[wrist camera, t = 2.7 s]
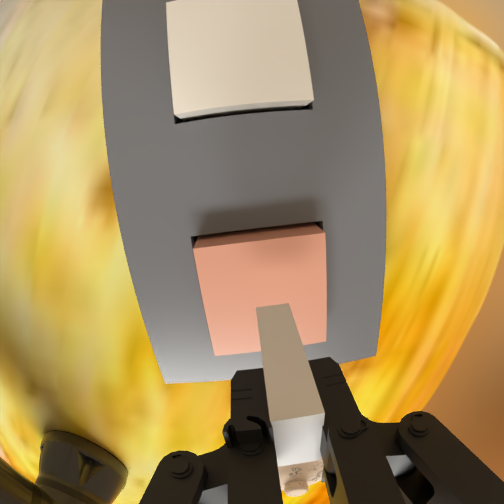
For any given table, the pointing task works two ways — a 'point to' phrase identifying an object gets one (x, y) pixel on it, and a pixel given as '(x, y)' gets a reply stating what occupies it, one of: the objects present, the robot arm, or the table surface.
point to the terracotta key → (262, 282)
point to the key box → (245, 182)
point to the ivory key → (236, 57)
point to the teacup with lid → (300, 476)
